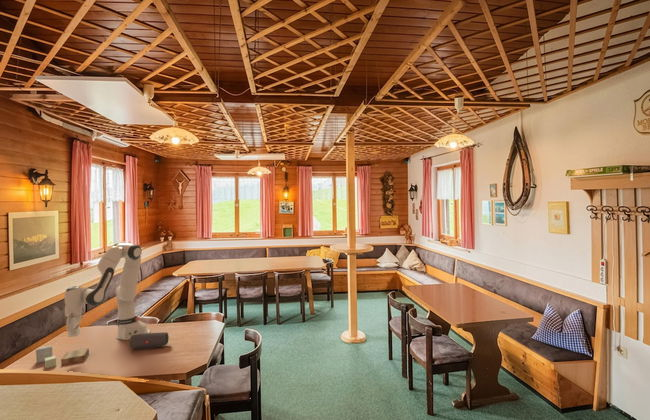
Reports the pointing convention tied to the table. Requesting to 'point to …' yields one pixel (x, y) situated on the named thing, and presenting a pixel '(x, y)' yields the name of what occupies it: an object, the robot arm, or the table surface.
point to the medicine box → (43, 353)
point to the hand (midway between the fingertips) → (74, 332)
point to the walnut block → (75, 356)
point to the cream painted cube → (77, 332)
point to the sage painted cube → (50, 361)
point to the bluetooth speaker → (149, 340)
